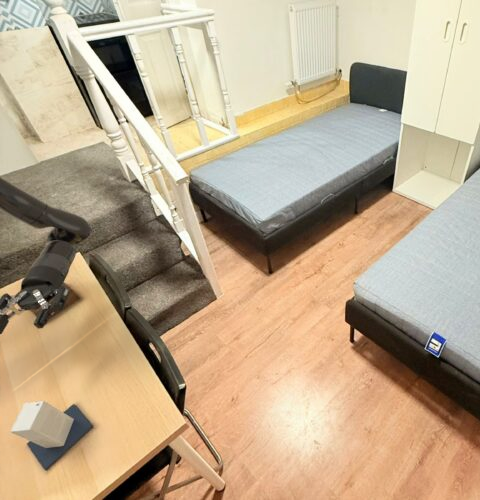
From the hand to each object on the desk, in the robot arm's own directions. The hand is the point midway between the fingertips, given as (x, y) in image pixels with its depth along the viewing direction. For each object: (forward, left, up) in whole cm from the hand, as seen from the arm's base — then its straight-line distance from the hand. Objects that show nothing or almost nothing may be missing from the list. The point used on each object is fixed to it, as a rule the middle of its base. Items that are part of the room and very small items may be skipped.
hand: (16, 329), depth 73 cm
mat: (-9, -11, -24) cm, 28 cm away
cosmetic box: (-9, -11, -23) cm, 27 cm away
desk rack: (+9, +32, -24) cm, 41 cm away
